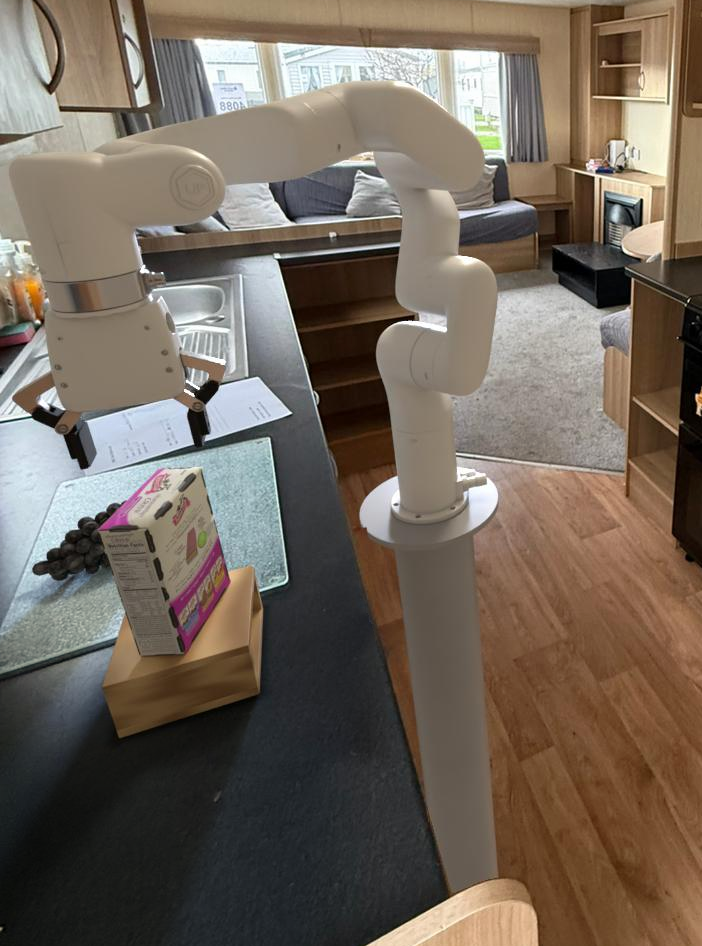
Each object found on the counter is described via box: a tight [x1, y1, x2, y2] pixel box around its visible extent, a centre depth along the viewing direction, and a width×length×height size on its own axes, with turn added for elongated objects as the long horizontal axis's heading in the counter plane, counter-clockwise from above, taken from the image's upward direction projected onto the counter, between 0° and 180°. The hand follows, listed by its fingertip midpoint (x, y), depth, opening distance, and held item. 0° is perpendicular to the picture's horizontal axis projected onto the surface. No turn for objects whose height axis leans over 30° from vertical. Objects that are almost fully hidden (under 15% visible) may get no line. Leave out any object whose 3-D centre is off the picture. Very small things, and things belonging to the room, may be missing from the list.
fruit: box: [31, 499, 128, 582], centre depth 91 cm, size 9×8×15 cm
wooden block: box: [101, 564, 264, 739], centre depth 74 cm, size 13×14×7 cm
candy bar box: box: [97, 466, 231, 657], centre depth 70 cm, size 11×5×16 cm, turn 5°
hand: (146, 451), depth 66 cm, fingers open, 9 cm apart
